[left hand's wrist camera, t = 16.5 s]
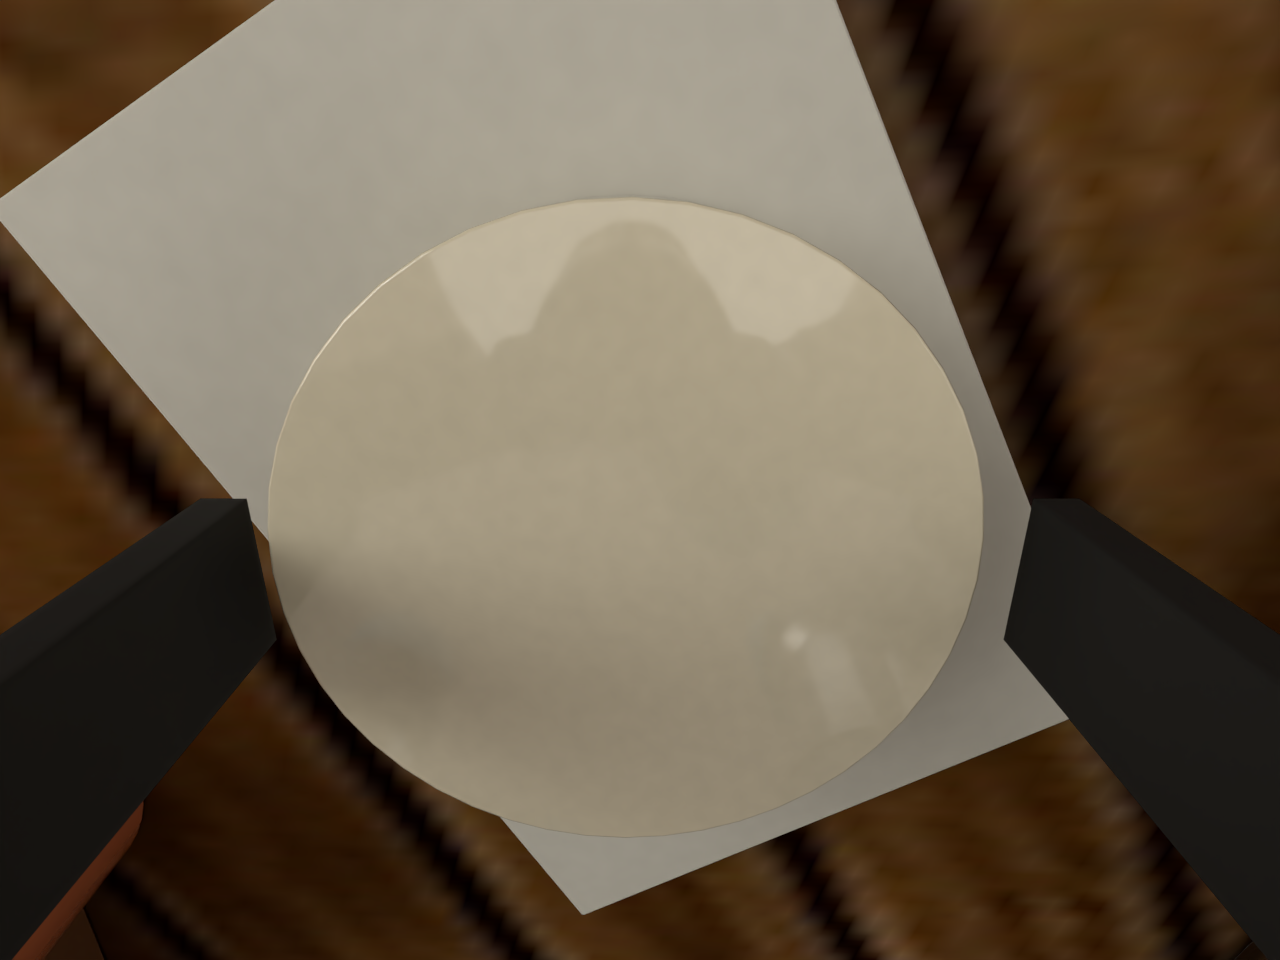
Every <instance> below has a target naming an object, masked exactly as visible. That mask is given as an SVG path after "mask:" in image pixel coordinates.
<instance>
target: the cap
mask: <svg viewBox="0 0 1280 960" xmlns="http://www.w3.org/2000/svg"><path fill="white" fill-rule="evenodd" d="M268 539H269V547H270V555H271V563H272V572H273V576H274V579H275V583H276V587H277V590H278V594H279V598H280V602H281V605H282V609H283V612H284V615H285V617H286V619H287V622H288V624H289V626H290V629H291V631H292V633H293V636H294V638H295V641H296V643H297V645H298V648H299V650H300V651H301V653H302V655H303V657H304V658H305V660H306V662H307V663H308V665H309V667H310V668H311V670H312V672H313V673H314V675H315V677H316V678H317V680H318V682H319V683H320V685H321V686H322V687H323V689H324V690H325V691H326V693H327V694H328V695H329V696H330V698H331V699H332V700H333V702H334V703H335V704H336V705H337V707H338V708H339V709H340V710H341V712H342V713H343V714H344V716H345V717H346V718H347V719H348V720H349V721H350V722H351V723H352V724H353V725H354V726H355V727H356V728H357V729H358V730H359V731H360V732H361V733H362V734H363V735H364V736H365V737H366V738H367V739H368V740H369V741H370V742H371V743H372V744H374V745H375V746H376V747H377V748H379V749H380V750H381V751H382V752H384V753H385V754H386V755H387V756H389V757H390V758H391V759H392V760H394V761H395V762H396V763H397V764H399V765H400V766H401V767H402V768H404V769H405V770H407V771H409V772H410V773H412V774H413V775H415V776H417V777H418V778H420V779H421V780H423V781H424V782H426V783H428V784H429V785H431V786H432V787H434V788H436V789H437V790H439V791H441V792H443V793H446V794H448V795H450V796H452V797H454V798H456V799H458V800H460V801H462V802H464V803H466V804H468V805H470V806H472V807H475V808H478V809H480V810H483V811H486V812H489V813H491V814H494V815H497V816H499V817H502V818H505V819H508V820H511V821H515V822H519V823H523V824H527V825H531V826H535V827H538V828H542V829H546V830H552V831H559V832H566V833H572V834H579V835H585V836H603V837H622V838H628V837H651V836H667V835H674V834H681V833H688V832H695V831H702V830H706V829H710V828H714V827H718V826H723V825H727V824H731V823H735V822H739V821H742V820H745V819H748V818H751V817H753V816H756V815H759V814H762V813H765V812H768V811H770V810H773V809H776V808H778V807H780V806H783V805H785V804H787V803H789V802H791V801H793V800H795V799H797V798H799V797H802V796H804V795H806V794H808V793H810V792H812V791H814V790H815V789H817V788H819V787H820V786H822V785H824V784H825V783H827V782H828V781H830V780H832V779H833V778H835V777H837V776H838V775H840V774H842V773H843V772H845V771H846V770H848V769H849V768H850V767H851V766H853V765H854V764H855V763H857V762H858V761H859V760H860V759H862V758H863V757H864V756H866V755H867V754H868V753H870V752H871V751H872V750H873V749H875V748H876V747H877V746H878V745H879V744H880V743H881V742H882V741H883V740H884V739H885V738H886V737H887V736H888V735H889V734H890V733H891V732H892V731H893V730H894V729H896V728H897V727H898V726H899V725H900V724H901V723H902V722H903V721H904V720H905V718H906V717H907V716H908V715H909V713H910V712H911V711H912V710H913V709H914V707H915V706H916V705H917V704H918V702H919V701H920V700H921V699H922V697H923V696H924V695H925V694H926V692H927V691H928V690H929V689H930V687H931V685H932V684H933V682H934V680H935V679H936V677H937V676H938V674H939V672H940V671H941V669H942V667H943V666H944V664H945V663H946V661H947V659H948V658H949V656H950V654H951V652H952V650H953V648H954V645H955V643H956V641H957V639H958V636H959V634H960V632H961V630H962V628H963V625H964V623H965V621H966V618H967V615H968V612H969V608H970V605H971V601H972V598H973V595H974V591H975V588H976V584H977V581H978V575H979V568H980V562H981V555H982V548H983V541H984V495H983V488H982V482H981V475H980V469H979V462H978V456H977V451H976V448H975V444H974V441H973V438H972V435H971V432H970V428H969V425H968V422H967V419H966V416H965V413H964V409H963V407H962V405H961V403H960V401H959V399H958V397H957V395H956V393H955V391H954V389H953V387H952V385H951V383H950V381H949V379H948V377H947V375H946V373H945V371H944V369H943V367H942V366H941V364H940V363H939V361H938V360H937V358H936V357H935V356H934V354H933V353H932V351H931V350H930V348H929V347H928V346H927V344H926V343H925V341H924V340H923V338H922V337H921V336H920V334H919V333H918V331H917V330H916V328H915V327H914V326H913V325H912V324H911V323H910V322H909V321H908V320H907V319H906V318H905V317H904V316H903V315H902V314H901V313H900V312H899V311H898V309H897V308H896V307H895V306H894V305H893V304H892V303H891V302H890V301H889V300H888V299H887V298H886V297H885V296H884V295H883V294H882V293H881V292H880V291H879V290H878V289H876V288H875V287H874V286H873V285H871V284H870V283H869V282H867V281H866V280H865V279H864V278H862V277H861V276H860V275H858V274H857V273H856V272H855V271H853V270H852V269H851V268H849V267H848V266H847V265H846V264H844V263H843V262H842V261H840V260H839V259H837V258H835V257H833V256H832V255H830V254H828V253H826V252H825V251H823V250H821V249H819V248H818V247H816V246H814V245H812V244H810V243H809V242H807V241H805V240H803V239H802V238H800V237H798V236H796V235H795V234H792V233H790V232H787V231H785V230H782V229H780V228H777V227H774V226H772V225H769V224H767V223H764V222H762V221H759V220H756V219H754V218H751V217H749V216H746V215H744V214H740V213H736V212H732V211H728V210H724V209H721V208H717V207H712V206H708V205H704V204H700V203H695V202H691V201H687V200H682V199H678V198H673V197H662V196H651V195H639V194H621V195H602V196H588V197H583V198H578V199H573V200H568V201H563V202H558V203H553V204H548V205H543V206H538V207H534V208H529V209H524V210H520V211H517V212H515V213H512V214H509V215H506V216H503V217H500V218H497V219H494V220H492V221H489V222H486V223H483V224H480V225H477V226H474V227H471V228H469V229H467V230H465V231H463V232H461V233H459V234H457V235H455V236H453V237H452V238H450V239H448V240H446V241H444V242H442V243H440V244H438V245H436V246H434V247H432V248H430V249H428V250H427V251H425V252H423V253H421V254H420V255H418V256H417V257H415V258H414V259H413V260H411V261H410V262H409V263H407V264H406V265H404V266H403V267H402V268H400V269H399V270H397V271H396V272H395V273H393V274H392V275H391V276H389V277H388V278H386V279H385V280H384V281H382V282H381V283H380V284H378V285H377V286H376V287H375V288H374V289H373V290H372V291H371V292H370V293H369V294H368V295H367V296H366V297H365V298H364V299H363V300H362V301H361V302H360V303H359V304H358V305H357V306H356V307H355V308H354V309H353V310H352V311H351V312H350V313H349V314H348V315H347V316H346V317H345V318H344V319H343V320H342V321H341V323H340V324H339V325H338V327H337V328H336V329H335V331H334V332H333V333H332V335H331V336H330V337H329V339H328V340H327V341H326V343H325V344H324V345H323V347H322V348H321V349H320V351H319V352H318V353H317V355H316V356H315V357H314V359H313V361H312V363H311V364H310V366H309V368H308V370H307V372H306V374H305V376H304V378H303V379H302V381H301V383H300V385H299V387H298V389H297V391H296V393H295V395H294V396H293V398H292V400H291V403H290V406H289V409H288V412H287V415H286V418H285V420H284V423H283V426H282V429H281V432H280V435H279V438H278V441H277V444H276V450H275V455H274V461H273V466H272V472H271V477H270V483H269V495H268Z"/></svg>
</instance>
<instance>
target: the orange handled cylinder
mask: <svg viewBox="0 0 1280 960" xmlns="http://www.w3.org/2000/svg"><path fill="white" fill-rule="evenodd" d="M143 805H144V801H143V802H142V803H141V804H140V805H139V807H138V808H137V809H136V810H135V811H134V813H133V814H132V815H131V816H130V818H129V819H128V820H127V821H126V822H125V824H124V825H123V826H122V827H121V828H120V830H119V831H118V832H117V833H116V834H115V836H114V837H113V838H112V839H111V840H110V842H109V843H108V844H107V845H106V847H105V848H104V849H103V850H102V851H101V853H100V854H99V855H98V856H97V857H96V859H95V860H94V861H93V862H92V863H91V865H90V866H89V867H88V868H87V870H86V871H85V872H84V873H83V874H82V876H81V877H80V878H79V879H78V880H77V882H76V883H75V884H74V885H73V886H72V888H71V889H70V890H69V891H68V892H67V894H66V895H65V896H64V897H63V899H62V900H61V901H60V902H59V903H58V905H57V906H56V907H55V908H54V909H53V911H52V912H51V913H50V914H49V915H48V917H47V918H46V919H45V920H44V922H43V923H42V924H41V925H40V926H39V928H38V929H37V930H36V931H35V932H34V934H33V935H32V936H31V937H30V938H29V940H28V941H27V942H26V943H25V944H24V946H23V947H22V948H21V949H20V951H19V952H18V953H17V954H16V955H15V957H14V958H13V959H12V960H105V959H104V956H103V954H102V951H101V949H100V947H99V944H98V942H97V939H96V937H95V934H94V932H93V929H92V927H91V925H90V922H89V920H88V917H87V915H86V912H85V910H84V906H85V905H86V904H87V902H88V901H89V900H90V898H91V897H92V896H93V894H94V893H95V892H96V890H97V889H98V888H99V886H100V885H101V884H102V883H103V881H104V880H105V879H106V877H107V876H108V875H109V873H110V872H111V871H112V869H113V868H114V867H115V865H116V864H117V863H118V862H119V860H120V859H121V858H122V856H123V855H124V854H125V852H126V851H127V850H128V848H129V847H130V846H131V844H132V842H133V840H134V838H135V837H136V835H137V833H138V830H139V826H140V823H141V820H142V814H143Z"/></svg>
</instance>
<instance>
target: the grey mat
mask: <svg viewBox="0 0 1280 960" xmlns="http://www.w3.org/2000/svg"><path fill="white" fill-rule="evenodd" d="M621 194H639V195H651V196H662V197H673V198H678V199H682V200H687V201H691V202H695V203H700V204H704V205H708V206H712V207H717V208H721V209H724V210H728V211H732V212H736V213H740V214H744V215H746V216H749V217H751V218H754V219H756V220H759V221H762V222H764V223H767V224H769V225H772V226H774V227H777V228H780V229H782V230H785V231H787V232H790V233H792V234H795V235H796V236H798V237H800V238H802V239H803V240H805V241H807V242H809V243H810V244H812V245H814V246H816V247H818V248H819V249H821V250H823V251H825V252H826V253H828V254H830V255H832V256H833V257H835V258H837V259H839V260H840V261H842V262H843V263H844V264H846V265H847V266H848V267H849V268H851V269H852V270H853V271H855V272H856V273H857V274H858V275H860V276H861V277H862V278H864V279H865V280H866V281H867V282H869V283H870V284H871V285H873V286H874V287H875V288H876V289H878V290H879V291H880V292H881V293H882V294H883V295H884V296H885V297H886V298H887V299H888V300H889V301H890V302H891V303H892V304H893V305H894V306H895V307H896V308H897V309H898V311H899V312H900V313H901V314H902V315H903V316H904V317H905V318H906V319H907V320H908V321H909V322H910V323H911V324H912V325H913V326H914V327H915V328H916V330H917V331H918V333H919V334H920V336H921V337H922V338H923V340H924V341H925V343H926V344H927V346H928V347H929V348H930V350H931V351H932V353H933V354H934V356H935V357H936V358H937V360H938V361H939V363H940V364H941V366H942V367H943V369H944V371H945V373H946V375H947V377H948V379H949V381H950V383H951V385H952V387H953V389H954V391H955V393H956V395H957V397H958V399H959V401H960V403H961V405H962V407H963V409H964V413H965V416H966V419H967V422H968V425H969V428H970V432H971V435H972V438H973V441H974V444H975V448H976V451H977V456H978V462H979V469H980V475H981V482H982V488H983V495H984V541H983V548H982V555H981V562H980V568H979V575H978V581H977V584H976V588H975V591H974V595H973V598H972V601H971V605H970V608H969V612H968V615H967V618H966V621H965V623H964V625H963V628H962V630H961V632H960V634H959V636H958V639H957V641H956V643H955V645H954V648H953V650H952V652H951V654H950V656H949V658H948V659H947V661H946V663H945V664H944V666H943V667H942V669H941V671H940V672H939V674H938V676H937V677H936V679H935V680H934V682H933V684H932V685H931V687H930V689H929V690H928V691H927V692H926V694H925V695H924V696H923V697H922V699H921V700H920V701H919V702H918V704H917V705H916V706H915V707H914V709H913V710H912V711H911V712H910V713H909V715H908V716H907V717H906V718H905V720H904V721H903V722H902V723H901V724H900V725H899V726H898V727H897V728H896V729H894V730H893V731H892V732H891V733H890V734H889V735H888V736H887V737H886V738H885V739H884V740H883V741H882V742H881V743H880V744H879V745H878V746H877V747H876V748H875V749H873V750H872V751H871V752H870V753H868V754H867V755H866V756H864V757H863V758H862V759H860V760H859V761H858V762H857V763H855V764H854V765H853V766H851V767H850V768H849V769H848V770H846V771H845V772H843V773H842V774H840V775H838V776H837V777H835V778H833V779H832V780H830V781H828V782H827V783H825V784H824V785H822V786H820V787H819V788H817V789H815V790H814V791H812V792H810V793H808V794H806V795H804V796H802V797H799V798H797V799H795V800H793V801H791V802H789V803H787V804H785V805H783V806H780V807H778V808H776V809H773V810H770V811H768V812H765V813H762V814H759V815H756V816H753V817H751V818H748V819H745V820H742V821H739V822H735V823H731V824H727V825H723V826H718V827H714V828H710V829H706V830H702V831H695V832H688V833H681V834H674V835H667V836H651V837H628V838H622V837H603V836H585V835H579V834H572V833H566V832H559V831H552V830H546V829H542V828H538V827H535V826H531V825H527V824H523V823H519V822H515V821H511V820H508V819H505V818H502V817H501V819H502V820H503V821H504V822H505V823H506V825H507V826H508V827H509V828H510V829H511V830H512V832H513V833H514V834H515V835H516V836H517V838H518V839H519V840H520V841H521V842H522V844H523V845H524V846H525V847H526V848H527V850H528V851H529V852H530V853H531V854H532V856H533V857H534V858H535V859H536V860H537V861H538V863H539V864H540V865H541V866H542V867H543V869H544V870H545V871H546V872H547V873H548V875H549V876H550V877H551V878H552V879H553V881H554V882H555V883H556V884H557V885H558V887H559V888H560V889H561V890H562V891H563V892H564V894H565V895H566V896H567V897H568V898H569V900H570V901H571V902H572V903H573V904H574V906H575V907H576V908H577V909H578V910H579V912H580V913H581V914H583V915H585V914H587V913H590V912H592V911H595V910H597V909H600V908H602V907H605V906H607V905H610V904H612V903H614V902H617V901H619V900H622V899H624V898H627V897H629V896H632V895H634V894H637V893H639V892H642V891H644V890H647V889H649V888H652V887H654V886H657V885H659V884H662V883H664V882H666V881H669V880H671V879H674V878H676V877H679V876H681V875H684V874H686V873H689V872H691V871H694V870H696V869H699V868H701V867H704V866H706V865H709V864H711V863H714V862H716V861H719V860H721V859H723V858H726V857H728V856H731V855H733V854H736V853H738V852H741V851H743V850H746V849H748V848H751V847H753V846H756V845H758V844H761V843H763V842H766V841H768V840H771V839H773V838H776V837H778V836H780V835H783V834H785V833H788V832H790V831H793V830H795V829H798V828H800V827H803V826H805V825H808V824H810V823H813V822H815V821H818V820H820V819H823V818H825V817H828V816H830V815H833V814H835V813H837V812H840V811H842V810H845V809H847V808H850V807H852V806H855V805H857V804H860V803H862V802H865V801H867V800H870V799H872V798H875V797H877V796H880V795H882V794H885V793H887V792H889V791H892V790H894V789H897V788H899V787H902V786H904V785H907V784H909V783H912V782H914V781H917V780H919V779H922V778H924V777H927V776H929V775H932V774H934V773H937V772H939V771H942V770H944V769H946V768H949V767H951V766H954V765H956V764H959V763H961V762H964V761H966V760H969V759H971V758H974V757H976V756H979V755H981V754H984V753H986V752H989V751H991V750H994V749H996V748H999V747H1001V746H1003V745H1006V744H1008V743H1011V742H1013V741H1016V740H1018V739H1021V738H1023V737H1026V736H1028V735H1031V734H1033V733H1036V732H1038V731H1041V730H1043V729H1046V728H1048V727H1051V726H1053V725H1055V724H1058V723H1060V722H1063V721H1065V720H1068V719H1069V718H1068V717H1067V716H1066V715H1065V714H1064V712H1063V711H1062V710H1061V709H1060V707H1059V706H1058V705H1057V704H1056V703H1055V701H1054V700H1053V699H1052V698H1051V697H1050V695H1049V694H1048V693H1047V692H1046V691H1045V689H1044V688H1043V687H1042V686H1041V684H1040V683H1039V682H1038V681H1037V680H1036V678H1035V677H1034V676H1033V675H1032V674H1031V672H1030V671H1029V670H1028V669H1027V668H1026V666H1025V665H1024V664H1023V663H1022V662H1021V660H1020V659H1019V658H1018V657H1017V655H1016V654H1015V653H1014V652H1013V651H1012V649H1011V648H1010V647H1009V646H1008V645H1007V643H1006V642H1005V641H1004V640H1003V639H1004V635H1005V630H1006V625H1007V620H1008V616H1009V611H1010V606H1011V602H1012V597H1013V592H1014V587H1015V583H1016V578H1017V573H1018V568H1019V564H1020V559H1021V554H1022V550H1023V545H1024V540H1025V535H1026V531H1027V526H1028V521H1029V516H1030V512H1031V507H1030V504H1029V502H1028V499H1027V496H1026V494H1025V491H1024V488H1023V486H1022V483H1021V481H1020V478H1019V475H1018V473H1017V470H1016V468H1015V465H1014V462H1013V460H1012V457H1011V455H1010V452H1009V449H1008V447H1007V444H1006V442H1005V439H1004V436H1003V434H1002V431H1001V429H1000V426H999V423H998V421H997V418H996V416H995V413H994V410H993V408H992V405H991V403H990V400H989V397H988V395H987V392H986V390H985V387H984V384H983V382H982V379H981V376H980V374H979V371H978V369H977V366H976V363H975V361H974V358H973V356H972V353H971V350H970V348H969V345H968V343H967V340H966V337H965V335H964V332H963V330H962V327H961V324H960V322H959V319H958V317H957V314H956V311H955V309H954V306H953V304H952V301H951V298H950V296H949V293H948V291H947V288H946V285H945V283H944V280H943V277H942V275H941V272H940V270H939V267H938V264H937V262H936V259H935V257H934V254H933V251H932V249H931V246H930V244H929V241H928V238H927V236H926V233H925V231H924V228H923V225H922V223H921V220H920V218H919V215H918V212H917V210H916V207H915V205H914V202H913V199H912V197H911V194H910V192H909V189H908V186H907V184H906V181H905V178H904V176H903V173H902V171H901V168H900V165H899V163H898V160H897V158H896V155H895V152H894V150H893V147H892V145H891V142H890V139H889V137H888V134H887V132H886V129H885V126H884V124H883V121H882V119H881V116H880V113H879V111H878V108H877V106H876V103H875V100H874V98H873V95H872V93H871V90H870V87H869V85H868V82H867V80H866V77H865V74H864V72H863V69H862V66H861V64H860V61H859V59H858V56H857V53H856V51H855V48H854V46H853V43H852V40H851V38H850V35H849V33H848V30H847V27H846V25H845V22H844V20H843V17H842V14H841V12H840V9H839V7H838V4H837V1H836V0H274V1H273V2H272V3H270V4H269V5H268V6H266V7H265V8H263V9H262V10H261V11H259V12H258V13H256V14H255V15H254V16H252V17H251V18H250V19H248V20H247V21H245V22H244V23H243V24H241V25H240V26H238V27H237V28H236V29H234V30H233V31H232V32H230V33H229V34H227V35H226V36H225V37H223V38H222V39H220V40H219V41H218V42H216V43H215V44H214V45H212V46H211V47H209V48H208V49H207V50H205V51H204V52H202V53H201V54H200V55H198V56H197V57H196V58H194V59H193V60H191V61H190V62H189V63H187V64H186V65H184V66H183V67H182V68H180V69H179V70H178V71H176V72H175V73H173V74H172V75H171V76H169V77H168V78H166V79H165V80H164V81H162V82H161V83H160V84H158V85H157V86H155V87H154V88H153V89H151V90H150V91H148V92H147V93H146V94H144V95H143V96H142V97H140V98H139V99H137V100H136V101H135V102H133V103H132V104H130V105H129V106H128V107H126V108H125V109H124V110H122V111H121V112H119V113H118V114H117V115H115V116H114V117H112V118H111V119H110V120H108V121H107V122H106V123H104V124H103V125H101V126H100V127H99V128H97V129H96V130H94V131H93V132H92V133H90V134H89V135H88V136H86V137H85V138H83V139H82V140H81V141H79V142H78V143H76V144H75V145H74V146H72V147H71V148H70V149H68V150H67V151H65V152H64V153H63V154H61V155H60V156H58V157H57V158H56V159H54V160H53V161H52V162H50V163H49V164H47V165H46V166H45V167H43V168H42V169H40V170H39V171H38V172H36V173H35V174H33V175H32V176H31V177H29V178H28V179H27V180H25V181H24V182H22V183H21V184H20V185H18V186H17V187H15V188H14V189H13V190H11V191H10V192H9V193H7V194H6V195H4V196H3V197H2V198H0V221H1V222H2V223H3V225H4V226H5V227H6V228H7V229H8V231H9V232H10V233H11V234H12V235H13V237H14V238H15V239H16V240H17V241H18V243H19V244H20V245H21V246H22V247H23V249H24V250H25V251H26V252H27V253H28V254H29V256H30V257H31V258H32V259H33V260H34V262H35V263H36V264H37V265H38V266H39V268H40V269H41V270H42V271H43V272H44V274H45V275H46V276H47V277H48V278H49V280H50V281H51V282H52V283H53V284H54V285H55V287H56V288H57V289H58V290H59V291H60V293H61V294H62V295H63V296H64V297H65V299H66V300H67V301H68V302H69V303H70V305H71V306H72V307H73V308H74V309H75V311H76V312H77V313H78V314H79V315H80V316H81V318H82V319H83V320H84V321H85V322H86V324H87V325H88V326H89V327H90V328H91V330H92V331H93V332H94V333H95V334H96V336H97V337H98V338H99V339H100V340H101V342H102V343H103V344H104V345H105V346H106V347H107V349H108V350H109V351H110V352H111V353H112V355H113V356H114V357H115V358H116V359H117V361H118V362H119V363H120V364H121V365H122V367H123V368H124V369H125V370H126V371H127V373H128V374H129V375H130V376H131V377H132V378H133V380H134V381H135V382H136V383H137V384H138V386H139V387H140V388H141V389H142V390H143V392H144V393H145V394H146V395H147V396H148V398H149V399H150V400H151V401H152V402H153V404H154V405H155V406H156V407H157V408H158V409H159V411H160V412H161V413H162V414H163V415H164V417H165V418H166V419H167V420H168V421H169V423H170V424H171V425H172V426H173V427H174V429H175V430H176V431H177V432H178V433H179V435H180V436H181V437H182V438H183V439H184V441H185V442H186V443H187V444H188V445H189V446H190V448H191V449H192V450H193V451H194V452H195V454H196V455H197V456H198V457H199V458H200V460H201V461H202V462H203V463H204V464H205V466H206V467H207V468H208V469H209V470H210V472H211V473H212V474H213V475H214V476H215V477H216V479H217V480H218V481H219V482H220V483H221V485H222V486H223V487H224V488H225V489H226V491H227V492H228V493H229V494H230V495H231V497H232V498H233V499H247V502H248V507H249V512H250V516H251V520H252V522H253V523H254V524H255V525H256V526H257V528H258V529H259V530H260V531H261V532H262V534H263V535H264V536H265V537H266V538H267V539H268V495H269V483H270V477H271V472H272V466H273V461H274V455H275V450H276V444H277V441H278V438H279V435H280V432H281V429H282V426H283V423H284V420H285V418H286V415H287V412H288V409H289V406H290V403H291V400H292V398H293V396H294V395H295V393H296V391H297V389H298V387H299V385H300V383H301V381H302V379H303V378H304V376H305V374H306V372H307V370H308V368H309V366H310V364H311V363H312V361H313V359H314V357H315V356H316V355H317V353H318V352H319V351H320V349H321V348H322V347H323V345H324V344H325V343H326V341H327V340H328V339H329V337H330V336H331V335H332V333H333V332H334V331H335V329H336V328H337V327H338V325H339V324H340V323H341V321H342V320H343V319H344V318H345V317H346V316H347V315H348V314H349V313H350V312H351V311H352V310H353V309H354V308H355V307H356V306H357V305H358V304H359V303H360V302H361V301H362V300H363V299H364V298H365V297H366V296H367V295H368V294H369V293H370V292H371V291H372V290H373V289H374V288H375V287H376V286H377V285H378V284H380V283H381V282H382V281H384V280H385V279H386V278H388V277H389V276H391V275H392V274H393V273H395V272H396V271H397V270H399V269H400V268H402V267H403V266H404V265H406V264H407V263H409V262H410V261H411V260H413V259H414V258H415V257H417V256H418V255H420V254H421V253H423V252H425V251H427V250H428V249H430V248H432V247H434V246H436V245H438V244H440V243H442V242H444V241H446V240H448V239H450V238H452V237H453V236H455V235H457V234H459V233H461V232H463V231H465V230H467V229H469V228H471V227H474V226H477V225H480V224H483V223H486V222H489V221H492V220H494V219H497V218H500V217H503V216H506V215H509V214H512V213H515V212H517V211H520V210H524V209H529V208H534V207H538V206H543V205H548V204H553V203H558V202H563V201H568V200H573V199H578V198H583V197H588V196H602V195H621ZM268 541H269V539H268Z"/></svg>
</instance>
